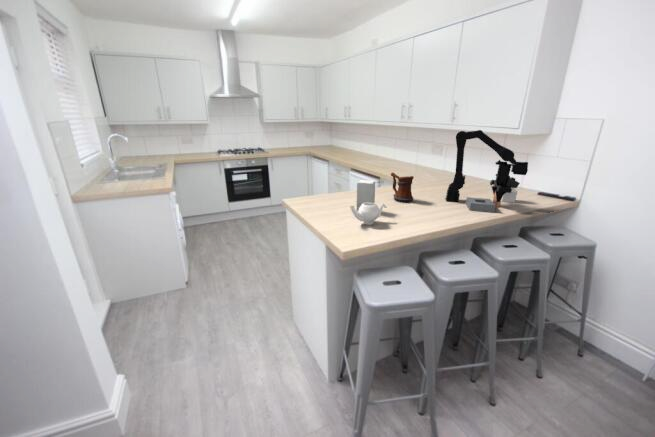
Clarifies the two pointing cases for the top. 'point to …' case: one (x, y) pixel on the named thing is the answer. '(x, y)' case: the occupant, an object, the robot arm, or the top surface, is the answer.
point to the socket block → (480, 204)
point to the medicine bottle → (510, 195)
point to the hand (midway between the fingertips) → (497, 200)
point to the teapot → (368, 212)
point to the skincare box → (365, 192)
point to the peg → (496, 201)
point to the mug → (402, 188)
